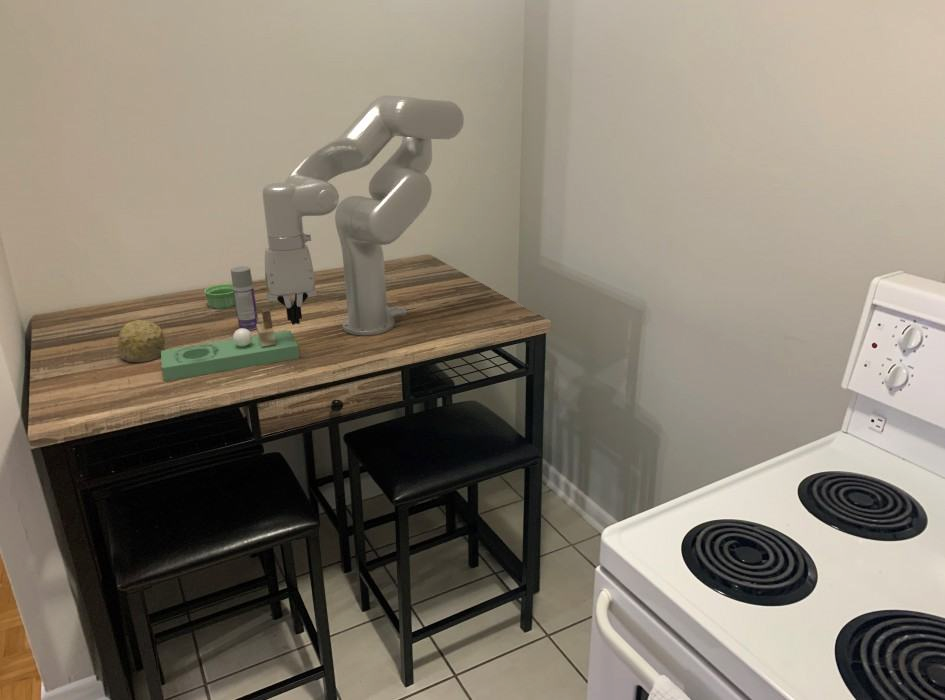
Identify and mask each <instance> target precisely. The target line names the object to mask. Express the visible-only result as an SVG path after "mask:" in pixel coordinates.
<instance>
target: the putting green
mask: <svg viewBox="0 0 945 700" xmlns="http://www.w3.org/2000/svg"><path fill="white" fill-rule="evenodd" d="M274 335H275V343H276V345H270V346H264V347H262V346H261V343H260V341H259V338H258V334H257V335H252V341H251V343H250V344H249V345H247V346H244V347H241V346H238V345H236V344H235V342H234V340H233V338H232V339H228V340H221V341H214V342H207V343H201V344H195V345H189V346H188V345H187V346H183V347H176V348H170V349H164V350H162V351H161V355H160V358H161V372H162V376H163V380H164V382H167V381H168V382H169V381H175V380H179V379H185V378H191V377H197V376H202V375H203V376H204V375H207V374H208V375H209V374H214V373H220V372H226V371H227V372H228V371H231V370H233V371H234V370H238V369H244V368H249V367H250V368H251V367H255V366H262V365H268V364H273V363H278V362H284V361H291V360H296V359H300V352H299V345H298V343H297V340H296V338H295V337H294V335H293V333H292V331H291V329H289V330H284V331H278V332H274Z"/></svg>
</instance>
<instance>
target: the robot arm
mask: <svg viewBox="0 0 945 700" xmlns="http://www.w3.org/2000/svg"><path fill="white" fill-rule="evenodd" d="M464 120H465V119H464V113H463V111H462V109H461V107H460V106H459V105H457V103H455V102H454V101H451V100H441V99H440V100H439V99H427V98H426V99H424V98H416V97H412V96H411V97H410V96H401V95H400V96H397V95H382V96H379V97H377V98H375V99H374V100H373V101H372V102H370V104H369V105H368V106H367V107H366V108H365V109H364V110H363V111H362V112H361V114H360V115H359V116H358V117H357V118H356V119H355V120H354V121H353V122H352V123H351V125H350V126H348V128H347V129H345V131H344V132H343V133H342V134H341V135H340V136H339V137H337V138H335V139H333V140H332V141H330V142H328V143H326V144H325V145H324V146H322V147H321V148H319V149H317V150H315V151H313V152H312V153H311V154H309V155H308V156H307V157H305V158H304V159H303V160H302V161H301V162H300V163H298V165H297V166H296V167H295V168H294V170H293V171H292V172H291V173H290V174H289V175H288V177H287V178H286V180H285V181H284V182H275V183H269V184H267V185H265V186H264V187H263V188H262V201H263V208H264V209H263V210H264V217H265V226H266V227H265V228H266V234H267V244H268V245H267V246H268V247H266V248H265V249H264V276H265V285H266V286H265V287H266V289H267V293H266V298H267V300H268V301H269V302H279V303H280V304H281V305H283V306H285V309H286V316H287V317H286V318H287V320H288V321H289V322H290V323H291V325H292V326H295V325H300V324H301V323H300V322H301V321H300V320H301V319H302V317H303V316H302V314H303V313H302V307H303V304H304V303H305V301H306V300H307V299H308V298H311V297H313V296H316V295H317V293H318V292H317V289H316V281H315V280H316V279H315V272H314V267H313V261H312V258H311V252H310V250H309V247H308V245H307V244H306V243H308V242H309V241H310V242H311V241H312V236H311V234H306V233H304V226H303V217H314V216H315V217H317V216H318V217H321V216H327V215H328V214H331V213H333V212H334V211H335V212H334V213H335V214H334V221H335V222H334V223H335V228H336V231H337V235H338V238H339V241H340V242H339V243H340V247H341V253H342V254H341V255H342V263H343V275H344V285H345V296H346V309H347V317H346V319H344V320H343V322H342V329H343V332H344V331H345V332H346V333H348V334H351V335H356V336H373V335H380V334H383V333H386V332H388V331H390V330H392V329H393V328H394V326H395V324H396V323H395V318H396V317H403V316H404V317H405V316H407V315H408V311H407V308H406V307H399V306H398V305H396V306H393V307H392V306H391V307H389V305H388V300H387V287H386V276H385V275H386V273H385V258H384V257H385V256H384V251H383V247H382V246H386V245H387V246H388V245H390V244H392V243H394V242H395V241H396V240H398V239H399V238H400V237H401V236H402V235H403V234H404V233H405V231H407V229H408V228H410V226H412V224H413V223H414V222H415V220H416V219H417V218H418V217H419V216H420V215H421V214H422V213H423V211H424V210H425V209H426V208H427V206H428V204H429V202H430V200H431V197H432V196H431V195H432V189H433V188H432V183H431V180H430V178H429V176H427V174H426V173H427V171H428V170H429V169H430V167H431V164H432V161H433V145H432V140H451V139H454V138H455V137H457V136H458V135H459V134H460V132H461V131H462V129H463V128H464V127H463V126H464V123H465V121H464ZM394 137H402V138H401V142H400V145H399V147H398V148H397V149H396V150H395V152H394V153H393V154H392V155H391V156H390V157H389V158H388V160H386V161H385V163H383V165H381V167H380V168H379V169H378V170H377V171H376V172H375V173H374V174H373V176H372V177H371V179H370V181H369V183H368V184H369V185H368V193H369V195H370V196H371V198H370V197H367V196H361V195H351V196H348V197H345V198H344V199H342V200H341V201H340V195H339V192H338V190H337V188H336V186H334V185H333V184H331V182H329V181H330V180H332V179H334V178H335V177H337V176H340V175H341V174H345V173H348V172H353V171H357V170H359V169H363V168H365V167H366V166H368V165H370V164H371V163H372V161H373V160H374V159H375V158H376V157H377V156H378V155H379V153H381V151H382V150H383V149H385V147H386V146H387V145H388V144H389V142H390V141H391V140H392V139H393V138H394ZM289 295H294V301H293V303H292V302H291V299H290V296H289Z"/></svg>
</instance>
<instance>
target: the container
mask: <svg viewBox="0 0 945 700" xmlns="http://www.w3.org/2000/svg"><path fill="white" fill-rule="evenodd" d="M230 273H231V274H230V276H231V284H233V292H234V298H235V304H236V306H235V308H236V309H235V310H236V316H237V322H238V329H241V328H244V329H247V330H249V331H250V332H251V331H255V330H257V326H256V324H260V323H259V317H258V310H257V303H256V296H255V289H254V284H253V278H252V277H253V276H252V272H251V267H249V266H245V265H243V266H235V267H232V268H231V269H230Z"/></svg>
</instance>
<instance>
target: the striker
mask: <svg viewBox="0 0 945 700" xmlns="http://www.w3.org/2000/svg"><path fill="white" fill-rule="evenodd" d="M261 316H262V322H261V323H259V324H256V326H257V329H256V331H257V335H258V338H259V341H260V343H261V346H262V347H264V346H270V345H276V343H275V335H274V333H275V330H274V328H273V323H272V314H271V309H270V308H269V307H267V308H262V309H261Z"/></svg>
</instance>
